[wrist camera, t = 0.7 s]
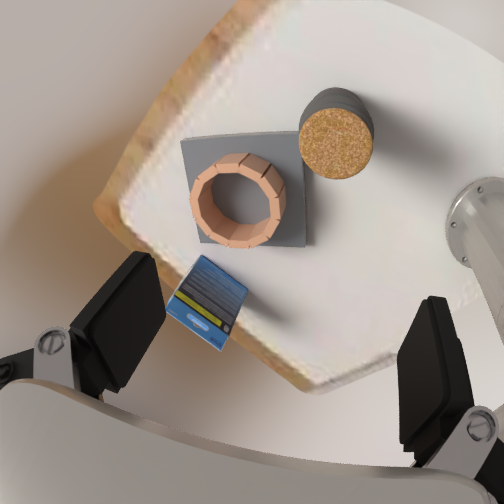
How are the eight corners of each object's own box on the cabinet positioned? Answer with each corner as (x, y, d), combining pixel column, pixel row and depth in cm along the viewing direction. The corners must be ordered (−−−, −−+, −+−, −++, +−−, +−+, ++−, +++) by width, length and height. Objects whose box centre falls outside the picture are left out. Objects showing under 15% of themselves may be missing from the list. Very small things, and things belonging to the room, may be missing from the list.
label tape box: (189, 267, 48) (151, 323, 38) (202, 252, 45) (163, 308, 36) (235, 301, 49) (208, 362, 39) (250, 288, 47) (224, 351, 37)
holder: (301, 131, 33) (294, 142, 28) (306, 241, 40) (300, 266, 36) (185, 138, 36) (163, 150, 32) (204, 237, 44) (188, 259, 39)
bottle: (302, 126, 32) (277, 167, 20) (320, 78, 29) (307, 84, 17) (352, 147, 32) (359, 202, 20) (372, 100, 29) (396, 124, 17)
